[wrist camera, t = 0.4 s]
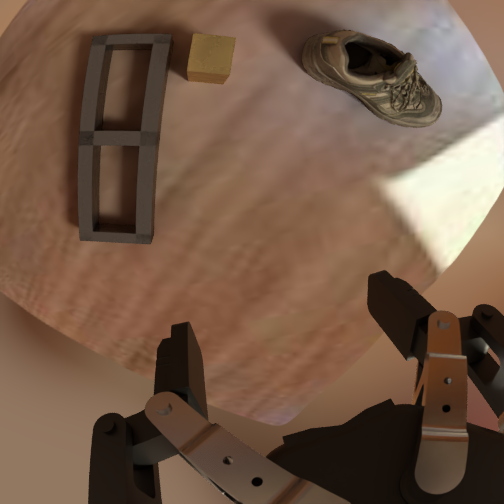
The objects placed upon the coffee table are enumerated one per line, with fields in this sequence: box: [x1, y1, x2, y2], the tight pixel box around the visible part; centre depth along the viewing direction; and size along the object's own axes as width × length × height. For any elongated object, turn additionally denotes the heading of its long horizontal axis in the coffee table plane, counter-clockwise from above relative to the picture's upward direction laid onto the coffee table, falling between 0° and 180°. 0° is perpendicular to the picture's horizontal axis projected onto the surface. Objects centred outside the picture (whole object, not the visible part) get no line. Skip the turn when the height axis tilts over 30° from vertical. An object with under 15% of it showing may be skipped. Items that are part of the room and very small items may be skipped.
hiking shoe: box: [302, 30, 442, 128], centre depth 30 cm, size 9×21×12 cm, turn 75°
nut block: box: [187, 33, 236, 84], centre depth 27 cm, size 4×4×7 cm
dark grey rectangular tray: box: [78, 34, 173, 244], centre depth 30 cm, size 24×9×3 cm, turn 172°
